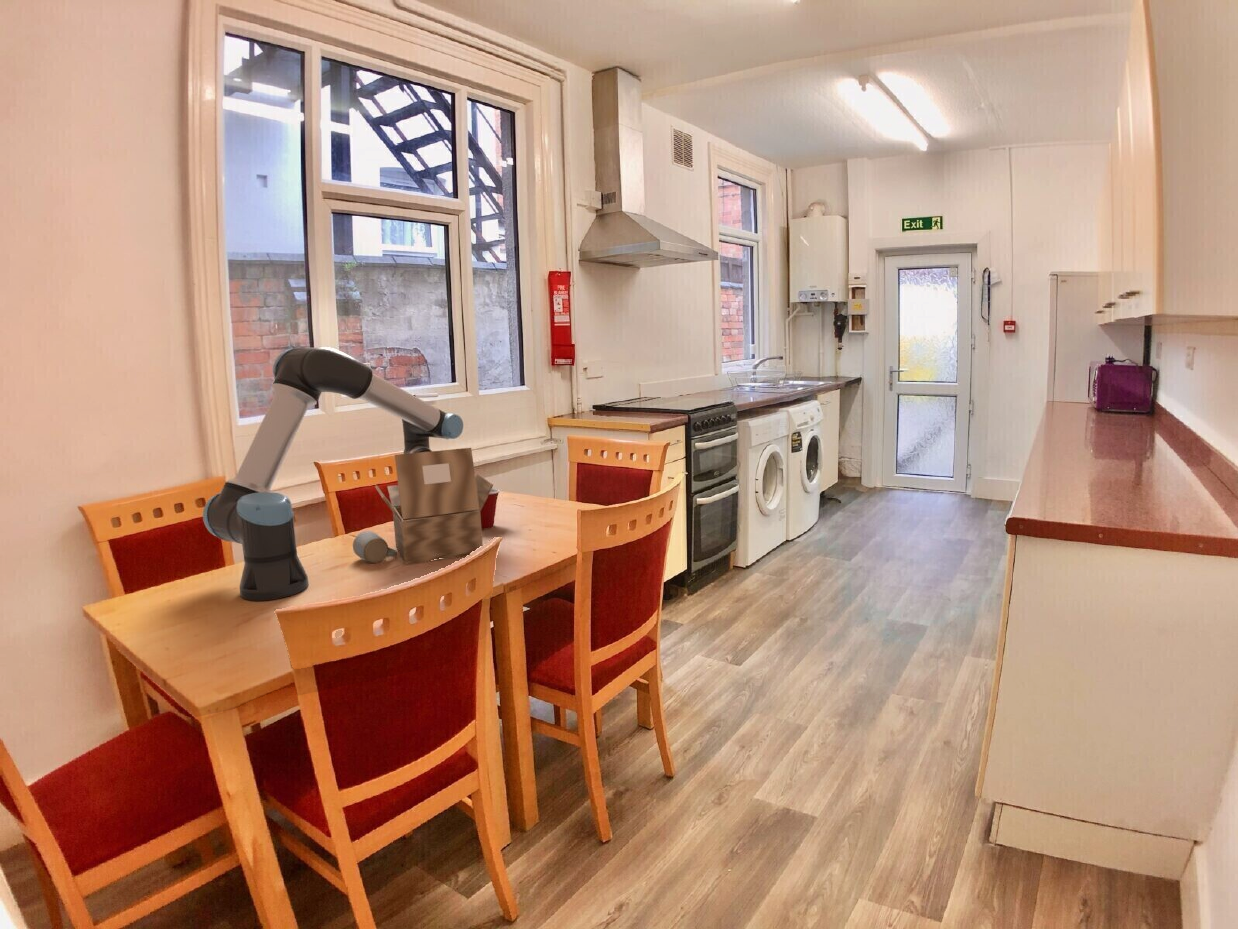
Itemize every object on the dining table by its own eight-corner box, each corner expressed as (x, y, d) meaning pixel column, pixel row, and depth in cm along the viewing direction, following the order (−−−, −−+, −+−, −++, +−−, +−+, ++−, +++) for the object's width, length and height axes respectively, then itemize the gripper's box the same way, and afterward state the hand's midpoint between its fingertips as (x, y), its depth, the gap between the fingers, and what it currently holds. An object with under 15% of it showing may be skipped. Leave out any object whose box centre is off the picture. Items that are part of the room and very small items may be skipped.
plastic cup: (509, 524, 233) (507, 487, 231) (485, 532, 224) (483, 494, 222) (483, 520, 239) (481, 484, 236) (460, 528, 230) (457, 491, 228)
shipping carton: (388, 567, 193) (382, 497, 190) (377, 543, 216) (371, 480, 213) (498, 551, 205) (493, 484, 201) (476, 529, 228) (472, 469, 225)
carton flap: (402, 519, 193) (402, 519, 192) (394, 455, 194) (394, 454, 193) (479, 509, 201) (479, 509, 200) (470, 447, 202) (471, 447, 202)
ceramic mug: (364, 567, 194) (362, 539, 193) (353, 560, 200) (351, 533, 199) (402, 559, 201) (401, 532, 200) (390, 552, 207) (388, 526, 206)
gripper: (446, 470, 223) (463, 483, 202) (401, 474, 218) (414, 489, 197) (444, 445, 222) (461, 456, 200) (399, 449, 216) (412, 461, 195)
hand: (438, 472), depth 199 cm, fingers closed
